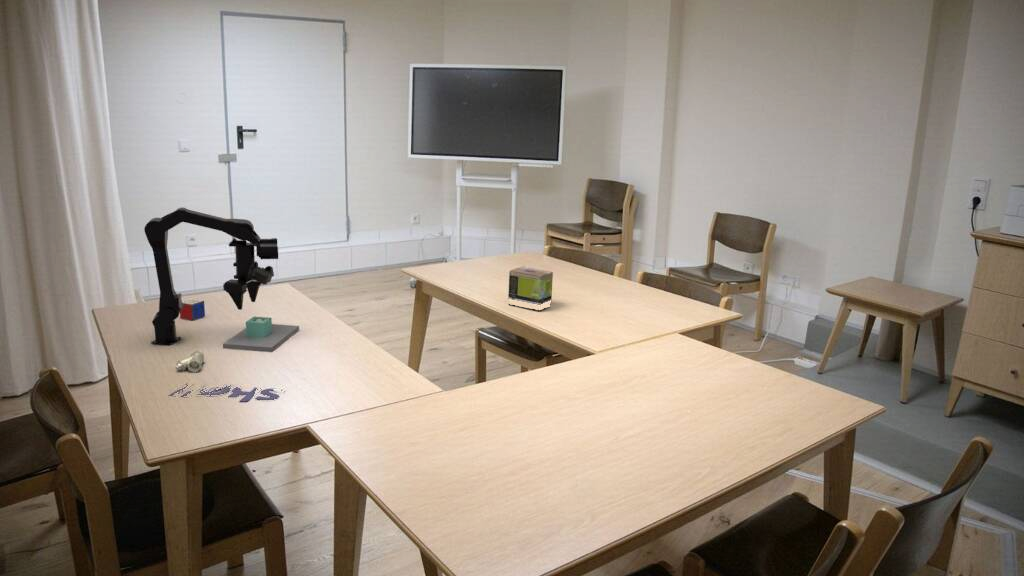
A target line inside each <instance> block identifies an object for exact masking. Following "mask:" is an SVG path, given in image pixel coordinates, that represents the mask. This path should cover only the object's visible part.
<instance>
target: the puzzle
mask: <svg viewBox="0 0 1024 576" xmlns="http://www.w3.org/2000/svg"><path fill="white" fill-rule="evenodd" d="M182 303H183V307H182V309H181V311H180V313H179V318H180V319H181V318H182V320H187V319H188V320H189V321H193V320H194V321H196V320H198V318H199V319H201V317H202V318H204V316H205V317H206V310H205V300H199V299H194V298H190V299H186V300H185V301H182ZM195 319H196V320H195Z"/></svg>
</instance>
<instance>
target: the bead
mask: <svg viewBox="0 0 1024 576" xmlns="http://www.w3.org/2000/svg"><path fill="white" fill-rule="evenodd" d="M256 319H262V322H259V321H256ZM272 324H273V321H272V317H264V316H252V317H251V318H249V319H247V321H245V328H246V336H247V337H259V338H265V337H266V336H268V335H269V334H270V333H271V332H272Z"/></svg>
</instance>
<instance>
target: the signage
mask: <svg viewBox="0 0 1024 576" xmlns="http://www.w3.org/2000/svg"><path fill="white" fill-rule="evenodd" d="M186 384H187V383H186ZM186 384H184V385H186ZM184 385H182V386H181V387H183V386H184ZM225 385H226V387H224V388H223V387H222V389H223V390H221V388H220V389H218V390H220V391H217V390H216V388H213V389H214V390H213V389H210V390H208V392H205V391H203V390H204V389H202V388H201V389H202V390H201V389H199V393H198V394H197V395H210V396H209V397H212V396H211V395H220V394H224V393H226V394H228V393H230V392H231V391H232V392H233V393H232V392H231V394H229V395H228V396H227V397H228V398H229V397H237V396H238V397H240V396H239V395H246V396H243V397H242V398H241V399H239V403H248V402H250V401H251V400H252V399H253V398H254V397H255V398H254V399H257V400H256V401H260V400H274V399H277V398H278V397H279V398H280V395H279V393H278V394H277V393H275V392H269V391H274V390H273V389H274V388H265V389H262V388H260V387H259V388H260V389H261V390H260V392H259V394H260V395H261V394H263V395H261V396H259V395H258V396H257V395H256V396H254V394H255V391H256V389H257V388H258V387H253V388H252V390H250V391H246V390H245V391H242V390H241V389H240V388H238V387H236V386H235V387H236V388H235V387H234V388H233V389H232V386H231V385H232V384H229V385H230V386H231V387H230V386H228V387H227V385H228V384H225ZM187 386H188V385H187ZM187 386H186V387H187ZM186 387H184V388H182V389H179V388H178V389H179V390H178V389H176V390H177V391H176V390H175V391H173V392H171V393H170V394H169V395H168V396H173V395H174V394H175V393H177V392H179V393H180V391H181V390H182V391H183V389H185V388H186ZM229 387H230V388H229ZM205 389H206V388H205ZM230 389H232V390H230ZM211 390H213V391H216V392H213V391H211ZM257 390H258V389H257ZM282 390H283V389H282ZM282 390H281V391H282ZM192 391H193V390H192ZM201 391H203V392H204V393H203V392H201ZM206 391H207V390H206ZM209 391H211V392H209ZM229 391H230V392H229ZM212 392H213V393H212ZM227 392H228V393H227ZM179 393H178V394H179ZM188 393H189V394H190V393H191V391H189V390H188V391H187V392H186V391H185V393H183V394H182V395H179V396H180V397H184V396H187V394H188ZM200 393H201V394H200ZM209 393H210V394H209ZM224 395H225V394H224ZM265 395H267V396H265ZM220 396H221V395H220ZM253 396H254V397H253ZM268 396H270V397H268ZM173 397H174V396H173ZM180 397H179V398H180ZM238 397H237V398H238ZM252 397H253V398H252ZM184 398H185V397H184ZM251 398H252V399H251ZM279 398H278V399H279ZM250 399H251V400H250ZM278 399H277V400H278ZM274 401H275V400H274Z"/></svg>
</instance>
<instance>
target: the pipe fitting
mask: <svg viewBox="0 0 1024 576" xmlns="http://www.w3.org/2000/svg"><path fill="white" fill-rule="evenodd" d="M204 361H205V356H204V352H201V351H199V350H196V351H194V352H193V353H192V354H191V355H190V356H187V357H185V358H182V359H180V360H177V362H176V364H175V370H177V371H180V370H182V371H181V372H184V371H185V372H186V371H189V372H192V373H196V372H195V371H197V372H199V371H200V370H201V369H202V368H203V367H202V363H203V362H204ZM187 369H188V370H187Z"/></svg>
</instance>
